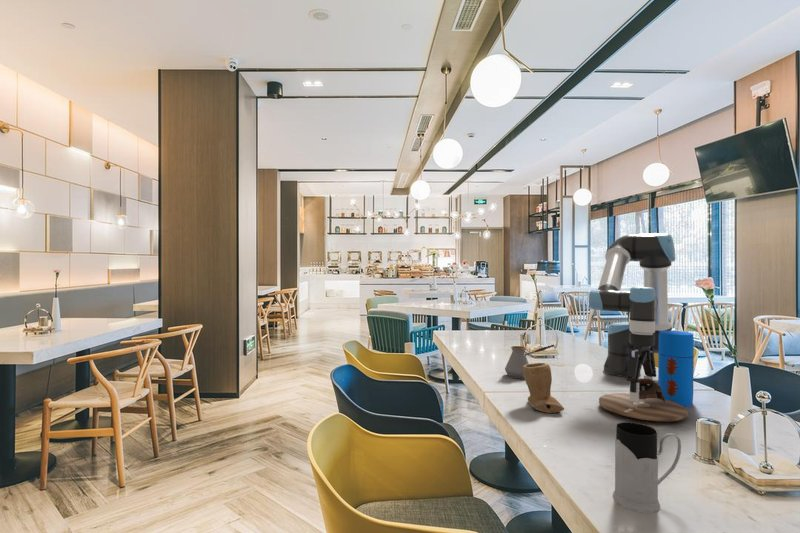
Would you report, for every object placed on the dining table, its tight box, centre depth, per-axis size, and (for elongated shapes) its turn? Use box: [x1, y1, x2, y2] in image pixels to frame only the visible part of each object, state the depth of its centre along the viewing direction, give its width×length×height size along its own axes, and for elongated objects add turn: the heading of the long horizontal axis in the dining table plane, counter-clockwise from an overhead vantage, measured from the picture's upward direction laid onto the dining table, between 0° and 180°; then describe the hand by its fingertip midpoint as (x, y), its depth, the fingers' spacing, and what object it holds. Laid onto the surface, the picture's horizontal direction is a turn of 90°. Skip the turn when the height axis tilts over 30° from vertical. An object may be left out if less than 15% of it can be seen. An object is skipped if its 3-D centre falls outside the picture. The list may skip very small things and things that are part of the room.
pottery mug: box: [638, 378, 665, 403], centre depth 145 cm, size 12×10×8 cm
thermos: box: [657, 330, 695, 407], centre depth 157 cm, size 11×11×25 cm
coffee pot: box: [504, 344, 556, 379], centre depth 190 cm, size 21×12×15 cm, turn 71°
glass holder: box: [612, 421, 682, 513], centre depth 90 cm, size 9×14×15 cm, turn 95°
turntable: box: [598, 392, 689, 422], centre depth 145 cm, size 26×26×1 cm
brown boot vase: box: [523, 362, 565, 414], centre depth 150 cm, size 15×12×15 cm
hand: (641, 398), depth 145 cm, fingers closed on pottery mug, 11 cm apart
